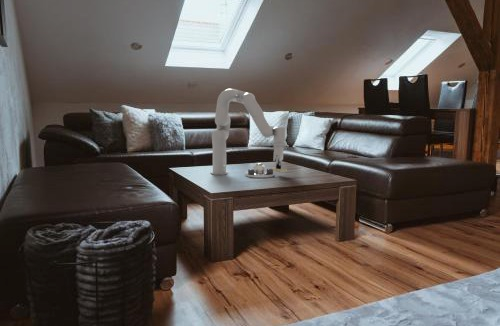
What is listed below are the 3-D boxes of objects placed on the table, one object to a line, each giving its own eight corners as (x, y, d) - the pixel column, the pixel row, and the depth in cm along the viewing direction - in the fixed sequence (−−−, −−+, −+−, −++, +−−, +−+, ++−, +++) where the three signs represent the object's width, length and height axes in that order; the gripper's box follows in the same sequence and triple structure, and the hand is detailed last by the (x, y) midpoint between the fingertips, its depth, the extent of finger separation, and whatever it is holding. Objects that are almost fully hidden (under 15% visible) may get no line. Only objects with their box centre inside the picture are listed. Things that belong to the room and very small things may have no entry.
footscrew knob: (265, 174, 274) (266, 168, 273) (267, 173, 278) (267, 167, 277) (285, 175, 269) (285, 169, 269) (287, 174, 274) (287, 168, 273)
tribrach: (242, 173, 285) (242, 160, 284) (269, 172, 289) (269, 160, 288) (248, 178, 266) (248, 165, 264) (277, 177, 270) (277, 164, 268)
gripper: (276, 143, 282) (275, 169, 285) (270, 145, 268) (270, 172, 271) (286, 143, 280) (286, 169, 283) (281, 146, 266) (281, 173, 269)
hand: (278, 171), depth 277 cm, fingers closed
